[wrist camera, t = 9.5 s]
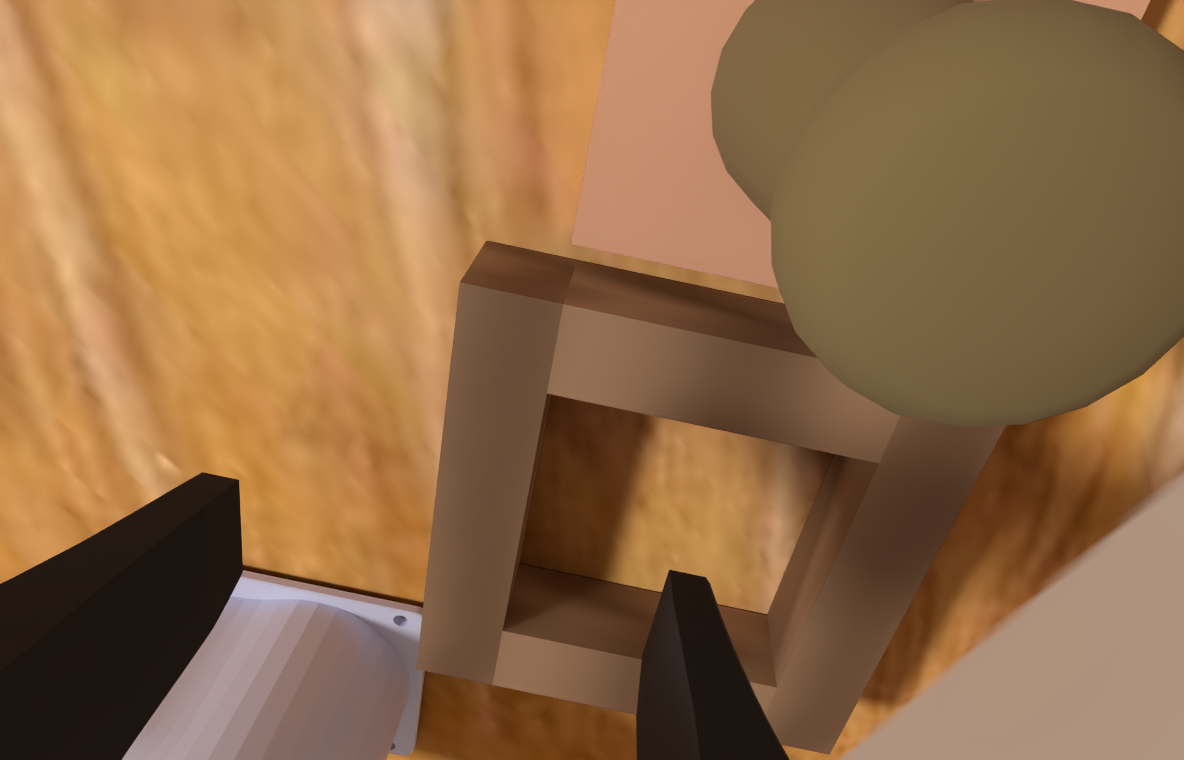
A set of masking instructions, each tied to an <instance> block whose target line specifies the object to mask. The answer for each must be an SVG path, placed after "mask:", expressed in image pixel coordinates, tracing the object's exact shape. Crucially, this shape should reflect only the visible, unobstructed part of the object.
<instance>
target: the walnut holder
mask: <svg viewBox="0 0 1184 760" xmlns="http://www.w3.org/2000/svg"><path fill="white" fill-rule="evenodd" d="M551 395H557V396H561V397H566V398H571V399H576V400H580V401H585V402H590V403H595V404H599V405H604V406H609V407H614V408H618V409H623V410H628V411H633V412H637V413H642V414H647V415H652V416H656V417H661V418H666V419H671V420H675V421H680V422H685V423H690V424H694V425H699V426H704V427H709V428H713V429H718V430H723V431H728V432H732V433H737V434H742V435H747V436H751V437H756V438H761V439H766V440H770V441H775V442H780V443H785V444H789V445H794V446H799V447H804V448H808V449H813V450H818V451H822V452H827V453H832V454H834V456H833V458H832V461H831V463H830V465H829V468H828V470H827V473H826V475H825V477H824V480H823V482H822V485H821V487H820V489H819V492H818V494H817V497H816V499H815V501H814V504H813V506H812V509H811V511H810V513H809V516H808V518H807V521H806V523H805V525H804V528H803V530H802V533H801V535H800V537H799V540H798V542H797V545H796V547H795V549H794V552H793V554H792V557H791V559H790V561H789V564H788V566H787V569H786V571H785V573H784V576H783V578H782V581H781V583H780V585H779V588H778V590H777V593H776V595H775V597H774V600H773V602H772V605H771V607H770V609H769V612H768V614H767V615H764V614H759V613H754V612H749V611H744V610H740V609H735V608H730V607H725V606H720V605H718V608H719V611H720V614H721V616H722V619H723V621H724V624H725V627H726V629H727V632H728V634H729V637H730V639H731V641H732V644H733V646H734V649H735V651H736V653H737V656H738V658H739V660H740V663H741V665H742V667H743V669H744V671H745V673H746V676H747V678H748V680H749V682H750V684H751V686H752V689H753V691H754V693H755V695H756V697H757V699H758V701H759V703H760V705H761V707H762V709H763V711H764V713H765V715H766V717H767V719H768V721H769V723H770V725H771V727H772V729H773V730H774V732H775V734H776V736H777V738H778V740H779V742H780V744H781V745H786V746H790V747H795V748H800V749H805V750H810V751H815V752H820V753H824V754H830V752H831V751H832V749H833V747H834V745H835V743H836V741H837V739H838V738H839V736H840V734H841V732H842V730H843V728H844V726H845V724H846V723H847V721H848V719H849V717H850V715H851V713H852V711H853V710H854V708H855V706H856V704H857V702H858V700H859V698H860V697H861V695H862V693H863V691H864V689H865V687H866V685H867V684H868V682H869V680H870V678H871V676H872V674H873V672H874V671H875V669H876V667H877V665H878V663H879V661H880V659H881V657H882V656H883V654H884V652H885V650H886V648H887V646H888V644H889V643H890V641H891V639H892V637H893V635H894V633H895V631H896V630H897V628H898V626H899V624H900V622H901V620H902V618H903V617H904V615H905V613H906V611H907V609H908V607H909V605H910V604H911V602H912V600H913V598H914V596H915V594H916V592H917V590H918V589H919V587H920V585H921V583H922V581H923V579H924V577H925V576H926V574H927V572H928V570H929V568H930V566H931V564H932V563H933V561H934V559H935V557H936V555H937V553H938V551H939V550H940V548H941V546H942V544H943V542H944V540H945V538H946V537H947V535H948V533H949V531H950V529H951V527H952V525H953V524H954V522H955V520H956V518H957V516H958V514H959V512H960V510H961V509H962V507H963V505H964V503H965V501H966V499H967V497H968V496H969V494H970V492H971V490H972V488H973V486H974V484H975V483H976V481H977V479H978V477H979V475H980V473H981V471H982V470H983V468H984V466H985V464H986V462H987V460H988V458H989V457H990V455H991V453H992V451H993V449H994V447H995V445H996V443H997V442H998V440H999V438H1000V436H1001V434H1002V432H1003V430H1004V429H1005V427H1006V425H1002V426H981V427H958V426H948V425H944V424H939V423H935V422H930V421H925V420H921V419H916V418H912V417H907V416H903V415H898V414H894V413H892V412H890V411H888V410H887V409H885V408H883V407H881V406H880V405H878V404H876V403H874V402H872V401H871V400H869V399H867V398H865V397H864V396H862V395H860V394H858V393H857V392H855V391H853V390H851V389H850V388H848V387H846V386H845V385H844V384H843V383H841V382H840V381H839V380H838V379H837V378H836V377H835V376H834V375H832V374H831V373H830V371H829V370H828V369H827V368H826V367H825V366H824V365H823V363H822V362H821V361H820V360H819V359H818V358H817V356H816V355H815V354H814V353H813V352H812V351H811V350H810V348H809V347H808V346H807V345H806V344H805V343H804V342H803V340H802V339H801V338H800V337H799V336H798V335H797V333H796V332H795V330H794V327H793V325H792V322H791V319H790V317H789V314H788V311H787V309H786V306H785V304H781V303H776V302H771V301H767V300H762V299H757V298H752V297H748V296H743V295H738V294H734V293H729V292H724V291H720V290H715V289H710V288H705V287H701V286H696V285H691V284H687V283H682V282H677V281H673V280H668V279H663V278H658V277H654V276H649V275H644V274H640V273H635V272H630V271H626V270H621V269H616V268H611V267H607V266H602V265H597V264H593V263H588V262H583V261H579V260H574V259H569V258H564V257H560V256H555V255H550V254H546V253H541V252H536V251H532V250H527V249H522V248H517V247H513V246H508V245H503V244H499V243H494V242H489V241H486V242H485V244H484V245H483V247H482V249H481V250H480V252H479V253H478V255H477V256H476V258H475V260H474V261H473V263H472V264H471V266H470V267H469V269H468V271H467V272H466V274H465V275H464V277H463V278H462V280H461V281H460V286H459V295H458V304H457V313H456V322H455V330H454V339H453V348H452V357H451V366H450V375H449V383H448V392H447V401H446V410H445V419H444V427H443V436H442V445H441V454H440V463H439V472H438V480H437V489H436V498H435V507H434V516H433V524H432V533H431V542H430V551H429V560H428V569H427V577H426V586H425V595H424V604H423V613H422V622H421V630H420V639H419V648H418V657H417V666H416V669H417V670H422V671H427V672H432V673H437V674H441V675H446V676H451V677H456V678H461V679H466V680H470V681H475V682H480V683H485V684H490V685H495V686H500V687H504V688H509V689H514V690H519V691H524V692H529V693H533V694H538V695H543V696H548V697H553V698H558V699H563V700H567V701H572V702H577V703H582V704H587V705H592V706H597V707H601V708H606V709H611V710H616V711H621V712H626V713H630V714H635V715H636V714H637V703H638V692H639V682H640V672H641V663H642V654H643V651H644V648H645V645H646V642H647V639H648V635H649V632H650V629H651V626H652V623H653V620H654V617H655V613H656V610H657V607H658V604H659V601H660V598H661V595H662V593H658V592H653V591H648V590H643V589H639V588H634V587H629V586H624V585H619V584H615V583H610V582H605V581H600V580H595V579H591V578H586V577H581V576H576V575H571V574H567V573H562V572H557V571H552V570H547V569H543V568H538V567H533V566H528V565H523V564H519V563H520V558H521V553H522V547H523V542H524V537H525V532H526V526H527V521H528V516H529V511H530V505H531V500H532V495H533V490H534V484H535V479H536V474H537V469H538V463H539V458H540V453H541V448H542V442H543V437H544V432H545V426H546V421H547V416H548V411H549V405H550V400H551Z"/></svg>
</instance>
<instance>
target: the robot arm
mask: <svg viewBox="0 0 1184 760" xmlns="http://www.w3.org/2000/svg"><path fill="white" fill-rule="evenodd" d="M422 613H423V608H421V607H419V606H414V605H409V604H404V603H399V602H394V601H390V600H385V599H380V598H375V597H370V596H365V595H361V594H356V593H351V592H346V591H341V590H336V589H332V588H327V587H322V586H317V585H312V584H308V583H303V582H298V581H293V580H288V579H283V578H279V577H274V576H269V575H264V574H259V573H254V572H250V571H245V570H243V563H242V539H241V516H240V492H239V480H236V479H232V478H227V477H222V476H217V475H212V474H208V473H203V472H202V473H201V474H199V475H197V476H195V477H193V478H192V479H190V480H188V481H186V482H185V483H183V484H181V485H179V486H178V487H176V488H174V489H173V490H171V491H169V492H167V493H166V494H164V495H162V496H161V497H159V498H157V499H156V500H154V501H152V502H151V503H149V504H147V505H145V506H144V507H142V508H140V509H139V510H137V511H135V512H134V513H132V514H130V515H128V516H127V517H125V518H123V519H121V520H120V521H118V522H116V523H114V524H113V525H111V526H109V527H107V528H106V529H104V530H102V531H100V532H99V533H97V534H95V535H93V536H92V537H90V538H88V539H86V540H85V541H83V542H81V543H79V544H77V545H75V546H73V547H71V548H70V549H68V550H66V551H64V552H62V553H60V554H58V555H56V556H54V557H52V558H50V559H48V560H46V561H44V562H43V563H41V564H39V565H37V566H35V567H33V568H31V569H29V570H27V571H25V572H23V573H21V574H19V575H18V576H16V577H14V578H12V579H10V580H8V581H5V582H3V583H1V584H0V760H387V757H388V754H389V753H392V754H397V755H409V754H411V753H412V752H413V751H414V748H415V745H416V740H417V732H418V724H419V716H420V707H421V699H422V691H423V683H424V674H425V671H422V670H417V669H416V666H417V657H418V648H419V639H420V630H421V622H422ZM400 616H403V617H405V618H402V617H400ZM636 721H637V760H789V758H788V756H787V754H786V753H785V751H784V749H783V747H782V745H781V744H780V742H779V740H778V738H777V736H776V734H775V732H774V730H773V729H772V727H771V725H770V723H769V721H768V719H767V717H766V715H765V713H764V711H763V709H762V707H761V705H760V703H759V701H758V699H757V697H756V695H755V693H754V691H753V689H752V686H751V684H750V682H749V680H748V678H747V676H746V673H745V671H744V669H743V667H742V665H741V663H740V660H739V658H738V656H737V653H736V651H735V649H734V646H733V644H732V641H731V639H730V637H729V634H728V632H727V629H726V627H725V624H724V621H723V619H722V616H721V614H720V611H719V608H718V605H717V603H716V600H715V597H714V594H713V591H712V588H711V585H710V583H709V582H708V580H707V579H706V577H702V576H697V575H692V574H687V573H683V572H678V571H673V570H669V573H668V576H667V579H666V582H665V585H664V588H663V591H662V595H661V598H660V601H659V604H658V607H657V610H656V613H655V617H654V620H653V623H652V626H651V629H650V632H649V635H648V639H647V642H646V645H645V648H644V651H643V654H642V663H641V672H640V682H639V692H638V703H637V714H636Z"/></svg>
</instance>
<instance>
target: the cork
mask: <svg viewBox="0 0 1184 760" xmlns="http://www.w3.org/2000/svg"><path fill="white" fill-rule="evenodd" d="M711 110H712V132H713V137H714V140H715V142H716V145H717V147H718V150H719V153H720V155H721V158H722V161H723V163H724V166H725V168H726V171H727V172H728V174H729V175H730V176H731V177H732V178H733V180H734V181H735V182H736V183H737V184H738V186H739V187H740V188H741V189H742V190H743V192H744V193H745V194H746V195H747V196H748V198H749V199H750V200H751V201H752V202H753V203H754V204H755V205H756V206H757V208H758V209H759V210H760V211H761V212H762V213H763V214H764V215H765V216H766V217H767V218H768V219H769V220H770V221H771V263H772V267H773V271H774V275H775V279H776V282H777V285H778V287H779V290H780V293H781V295H782V298H783V301H784V303H785V306H786V309H787V311H788V314H789V317H790V319H791V322H792V325H793V327H794V330H795V332H796V333H797V335H798V336H799V337H800V338H801V339H802V340H803V342H804V343H805V344H806V345H807V346H808V347H809V348H810V350H811V351H812V352H813V353H814V354H815V355H816V356H817V358H818V359H819V360H820V361H821V362H822V363H823V365H824V366H825V367H826V368H827V369H828V370H829V371H830V373H831V374H832V375H834V376H835V377H836V378H837V379H838V380H839V381H840V382H841V383H843V384H844V385H845V386H846V387H848V388H850V389H851V390H853V391H855V392H857V393H858V394H860V395H862V396H864V397H865V398H867V399H869V400H871V401H872V402H874V403H876V404H878V405H880V406H881V407H883V408H885V409H887V410H888V411H890V412H892V413H894V414H898V415H903V416H907V417H912V418H916V419H921V420H925V421H930V422H935V423H939V424H944V425H948V426H958V427H981V426H1002V425H1022V424H1029V423H1032V422H1036V421H1039V420H1042V419H1046V418H1049V417H1053V416H1056V415H1059V414H1063V413H1066V412H1070V411H1073V410H1076V409H1080V408H1083V407H1086V406H1088V405H1090V404H1092V403H1093V402H1095V401H1097V400H1099V399H1100V398H1102V397H1104V396H1106V395H1107V394H1109V393H1111V392H1113V391H1115V390H1116V389H1118V388H1120V387H1122V386H1123V385H1125V384H1127V383H1129V382H1130V381H1132V380H1134V379H1136V378H1138V377H1139V376H1141V375H1143V374H1144V373H1145V372H1146V371H1147V370H1148V369H1149V368H1150V367H1151V366H1152V365H1154V364H1155V363H1156V362H1157V361H1158V360H1159V359H1160V358H1161V357H1162V356H1163V355H1164V354H1165V353H1166V352H1168V351H1169V350H1170V349H1171V348H1172V347H1173V346H1174V345H1175V344H1176V343H1177V342H1178V341H1179V340H1181V339H1182V338H1183V337H1184V51H1183V50H1182V49H1180V48H1179V47H1178V46H1176V45H1175V44H1173V43H1172V42H1171V41H1169V40H1168V39H1166V38H1165V37H1164V36H1162V35H1161V34H1159V33H1158V32H1157V31H1155V30H1154V29H1152V28H1151V27H1150V26H1148V25H1147V24H1146V23H1144V22H1143V21H1141V20H1140V19H1139V18H1137V17H1136V16H1134V15H1133V14H1131V13H1127V12H1122V11H1118V10H1114V9H1109V8H1105V7H1100V6H1096V5H1092V4H1087V3H1083V2H1078V1H1074V0H989V1H980V2H975V1H973V0H755V1H754V2H753V3H752V4H751V5H750V6H749V7H748V8H747V9H746V10H745V12H744V13H743V15H742V17H741V18H740V20H739V22H738V23H737V25H736V27H735V28H734V30H733V32H732V33H731V35H730V37H729V38H728V40H727V42H726V43H725V45H724V47H723V48H722V51H721V55H720V59H719V62H718V66H717V70H716V74H715V78H714V82H713V86H712V90H711Z"/></svg>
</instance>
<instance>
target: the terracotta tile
mask: <svg viewBox="0 0 1184 760" xmlns="http://www.w3.org/2000/svg"><path fill="white" fill-rule="evenodd" d="M754 1H755V0H616V2H615V8H614V13H613V18H612V24H611V29H610V35H609V40H608V46H607V51H606V57H605V62H604V67H603V73H602V78H601V84H600V89H599V95H598V100H597V105H596V111H595V116H594V122H593V127H592V133H591V138H590V143H589V149H588V154H587V160H586V165H585V171H584V176H583V181H582V187H581V192H580V198H579V203H578V209H577V214H576V219H575V225H574V230H573V236H572V241H571V244H573V245H577V246H582V247H587V248H591V249H596V250H601V251H605V252H610V253H615V254H620V255H624V256H629V257H634V258H638V259H643V260H648V261H652V262H657V263H662V264H667V265H671V266H676V267H681V268H685V269H690V270H695V271H699V272H704V273H709V274H713V275H718V276H723V277H728V278H732V279H737V280H742V281H746V282H751V283H756V284H760V285H765V286H770V287H775V288H779V287H778V285H777V282H776V279H775V275H774V271H773V267H772V263H771V221H770V220H769V219H768V218H767V217H766V216H765V215H764V214H763V213H762V212H761V211H760V210H759V209H758V208H757V206H756V205H755V204H754V203H753V202H752V201H751V200H750V199H749V198H748V196H747V195H746V194H745V193H744V192H743V190H742V189H741V188H740V187H739V186H738V184H737V183H736V182H735V181H734V180H733V178H732V177H731V176H730V175H729V174H728V172H727V171H726V168H725V166H724V163H723V161H722V158H721V155H720V153H719V150H718V147H717V145H716V142H715V140H714V137H713V132H712V110H711V90H712V86H713V82H714V78H715V74H716V70H717V66H718V62H719V59H720V55H721V51H722V48H723V47H724V45H725V43H726V42H727V40H728V38H729V37H730V35H731V33H732V32H733V30H734V28H735V27H736V25H737V23H738V22H739V20H740V18H741V17H742V15H743V13H744V12H745V10H746V9H747V8H748V7H749V6H750V5H751V4H752V3H753V2H754ZM973 1H975V2H980V1H989V0H973ZM1074 1H1078V2H1083V3H1087V4H1092V5H1096V6H1100V7H1105V8H1109V9H1114V10H1118V11H1122V12H1127V13H1131V14H1133V15H1134V16H1136V17H1137V18H1139V19H1140V20H1141V19H1142V17H1143V15H1144V13H1145V11H1146V8H1147V6H1148V4H1149V2H1150V0H1074Z"/></svg>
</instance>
